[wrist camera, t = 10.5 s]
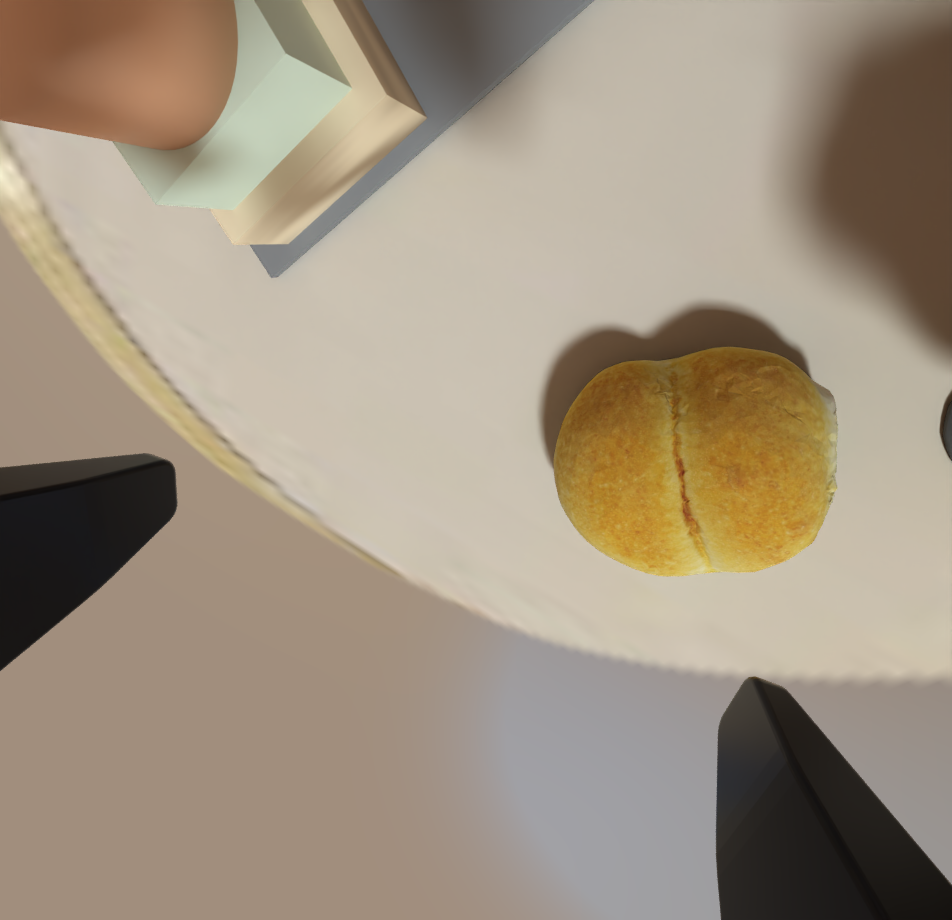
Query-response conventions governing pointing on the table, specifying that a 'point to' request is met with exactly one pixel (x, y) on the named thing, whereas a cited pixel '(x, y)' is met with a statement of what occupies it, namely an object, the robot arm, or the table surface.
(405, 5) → the mat
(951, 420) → the sundae
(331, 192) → the tower base
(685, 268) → the table surface
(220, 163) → the tower top
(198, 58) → the peach gumdrop
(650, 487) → the bread roll
